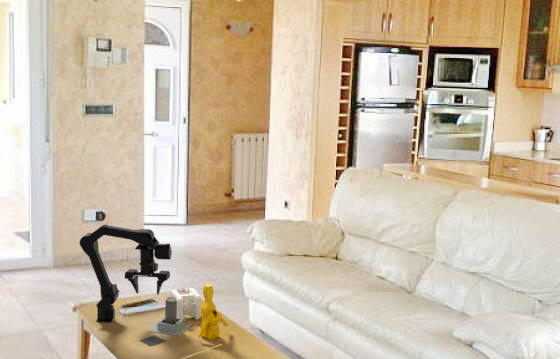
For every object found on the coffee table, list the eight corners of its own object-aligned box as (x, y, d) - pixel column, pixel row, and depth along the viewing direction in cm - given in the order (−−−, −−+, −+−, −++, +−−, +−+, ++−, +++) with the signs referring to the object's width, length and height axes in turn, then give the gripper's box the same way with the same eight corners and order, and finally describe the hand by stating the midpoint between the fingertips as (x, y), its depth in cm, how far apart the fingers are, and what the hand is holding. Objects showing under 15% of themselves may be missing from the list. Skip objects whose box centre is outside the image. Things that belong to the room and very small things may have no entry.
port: (148, 332, 285) (148, 322, 285) (161, 321, 299) (162, 311, 298) (179, 337, 282) (180, 327, 282) (191, 325, 296) (192, 316, 295)
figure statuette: (202, 345, 275) (204, 293, 272) (188, 340, 280) (190, 289, 277) (231, 333, 289) (233, 284, 286) (217, 328, 294) (219, 279, 291)
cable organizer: (200, 322, 300) (201, 297, 299) (177, 324, 296) (178, 299, 295) (191, 310, 314) (192, 286, 312) (169, 312, 310) (169, 288, 308)
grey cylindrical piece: (163, 328, 289) (163, 299, 287) (167, 324, 293) (168, 295, 291) (173, 330, 288) (174, 300, 286) (178, 326, 292) (178, 297, 290)
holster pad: (138, 341, 276) (138, 340, 276) (154, 336, 282) (154, 335, 282) (150, 347, 270) (150, 346, 270) (166, 342, 276) (166, 341, 276)
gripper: (173, 255, 299) (174, 289, 302) (132, 253, 302) (133, 287, 304) (165, 262, 288) (166, 297, 291) (123, 260, 291) (124, 295, 293)
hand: (147, 293), depth 295 cm, fingers open, 9 cm apart
